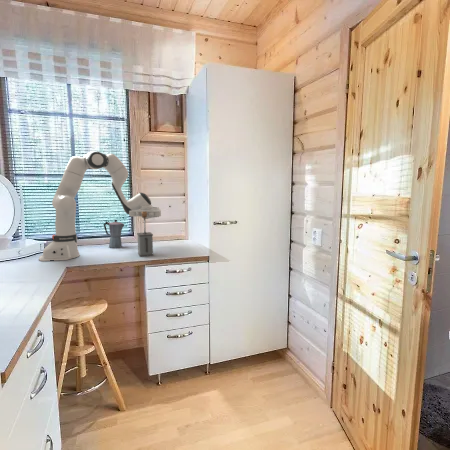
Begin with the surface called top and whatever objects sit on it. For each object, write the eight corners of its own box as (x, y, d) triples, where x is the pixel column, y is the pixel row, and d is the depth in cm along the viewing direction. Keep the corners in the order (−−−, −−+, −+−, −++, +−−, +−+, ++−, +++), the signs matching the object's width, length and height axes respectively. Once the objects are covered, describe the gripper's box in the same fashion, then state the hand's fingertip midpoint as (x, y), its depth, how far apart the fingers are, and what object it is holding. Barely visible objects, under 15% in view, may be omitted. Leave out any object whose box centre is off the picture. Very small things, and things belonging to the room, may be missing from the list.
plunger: (141, 242, 197) (140, 212, 194) (139, 241, 203) (138, 211, 200) (150, 242, 200) (149, 211, 197) (148, 240, 205) (148, 211, 202)
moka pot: (123, 248, 219) (122, 220, 216) (101, 248, 220) (100, 220, 217) (127, 245, 229) (126, 218, 226) (106, 245, 229) (105, 218, 226)
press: (140, 257, 195) (139, 235, 193) (137, 253, 204) (137, 233, 202) (154, 256, 198) (153, 234, 196) (150, 252, 208) (150, 232, 206)
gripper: (130, 207, 209) (127, 209, 196) (161, 207, 212) (160, 209, 199) (130, 216, 210) (127, 219, 197) (161, 216, 213) (160, 219, 200)
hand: (144, 214), depth 198 cm, fingers open, 6 cm apart
